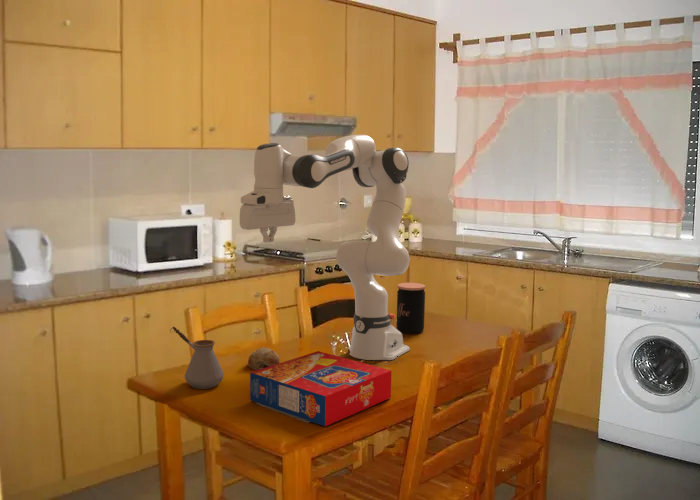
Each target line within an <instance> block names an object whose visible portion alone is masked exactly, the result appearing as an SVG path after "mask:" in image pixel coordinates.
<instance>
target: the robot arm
mask: <svg viewBox="0 0 700 500" xmlns="http://www.w3.org/2000/svg"><path fill="white" fill-rule="evenodd" d="M376 149H377V147H376V143H375V141H374V139H373V138H372V137H370V136H369V135H367V134H351V135H347V136H342V137H339V138H337V139H334V140H332V141H330V142H329V143H328V144H327V146H326V149H325V155H323V156H321V155H317V154H293V153H291V152H289V151H287V150H286V149H285V148H283V147H282V144H280V143H277V142H272V143H270V142H269V143H263V144H260V145H258V146H257V147H256V149H255V153H254V156H253V157H254V158H253V159H254V160H253V175H254V179H255V180H254V184H253V190H252V191H250V192H248V193H246V194H244V195H242V196H241V197H240V204H242V205H241V207H240V210H239V226H240V228H241V229H242V230H248V231H249V230H250V231H252V230H259V232H260V234H261V235H262V236H261V237H262V241H263V243H273V242H274V241H275V235H276V233H277V231H278V228H279V227H290V226H294V225H295V223H296V211H295V206H294V199H293V198H292V197H291V196H290V195H286V196H285V195H284V186H293V187H294V186H295V187H303V188H308V189H315V188H317V187H320V185H322V183H323V182H324V181H326V180H327V179H328V178H329V177H331V176H334V175H336V174H339V173H341V172H344V171H349V170H352V174H353V175H352V176H353V178H354V181H355V182H356V184H358V185H359V186H360V187H362V188H372V187H376V193H375V196H374V199H373V201H372V204H371V206H370V207H371V208H370V211H369V214H368V216H367V220H366V226H367V229H368V231H369V232H370V233H371V234H372V235H373V236H374V237H375V238H376V240H375V241H368V240H367V241H366V240H357V239H356V240H350V241H349V240H348V241H344V242H342V243H341V244H340V245H339V246H338V248H337V250H336V254H335V255H336V258H335V259H336V261H337V264H338V266H339V268H340V269H341V270H342V271H343V272H344V273H345V274H346V275H347V277H348V278H349V279H350V282H351V284H352V288H353V290H354V291H353V292H354V303H355V304H354V307H355V309H354V311H355V312H354V313H353V318H352V319H353V325H354V326H353V327H352V331H351V341H350V345H349V346H348V350H349V355H350V356H351V357H353V358H355V359H359V360H367V361H380V360H381V361H391V360H392V361H393V360H394V359H396V358H398V357H400V356H402V355H403V354H405V353H407V352H409V351H410V349H411V348H410V347H409V345H406V344H405V343H404V338H403V333H401V332H400V331H398V329H397V328H396V327H395V326H394V325H392V324H391V323H392V322H391V320H392V321H394V320H395V319H397V314H395V313H389V311H388V309H389V307H388V306H389V293H388V292H387V290H386V288H385V287H384V286H383V285H381V284H379V283H378V282H377V280H376V278H375V276H374V275H377V276H384V277H386V276H387V277H393V276H399V275H400V276H401V275H404V273H406V272H407V270H408V268H409V266H410V262H411V258H410V254H409V253H410V252H409V251H408V250H407V248H406V246H404V245H403V244H402V243H401V241H400V240H401V239H400V237H399V229H400V226H401V221H402V218H403V214H404V211H405V205H406V197H407V190H406V187H405V186H404V184H403V182H404V181H405V180H406V179H407V173H408V171H409V157H408V155H407V153H406V152H405V151H404V150H403V149H401V148H400V147H388V148H387V149H382V150H379V151H378V150H376ZM268 231H269V232H268ZM397 356H398V357H397Z"/></svg>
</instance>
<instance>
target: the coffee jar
mask: <svg viewBox="0 0 700 500" xmlns="http://www.w3.org/2000/svg"><path fill="white" fill-rule="evenodd" d="M425 288H426V285H425V284H422V283H420V282H419V283H418V282H402V283H398V284H397V289H398V290H397V292H396V293H397V295H396V296H397V297H396V327H395V328H396V329H397V330H398V331H400V332H401V334H407V335H416V334H420V333H421V334H422V333H423V331H424V330H425V313H426V312H425V311H426V308H425V307H426V306H425V305H426V291H425Z"/></svg>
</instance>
